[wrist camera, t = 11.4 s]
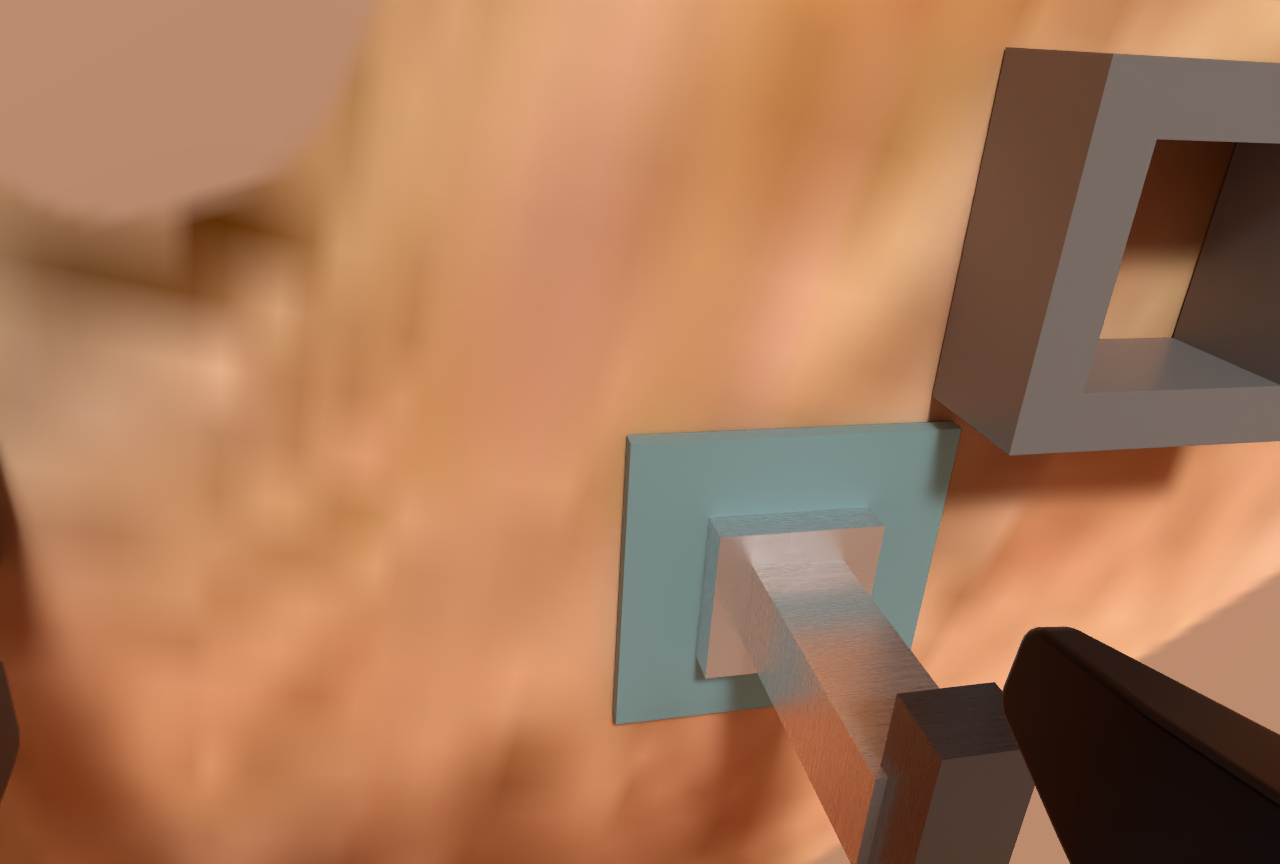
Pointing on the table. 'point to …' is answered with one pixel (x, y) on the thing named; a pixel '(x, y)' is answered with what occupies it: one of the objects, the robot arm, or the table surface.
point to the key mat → (758, 484)
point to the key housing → (1115, 260)
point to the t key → (859, 692)
